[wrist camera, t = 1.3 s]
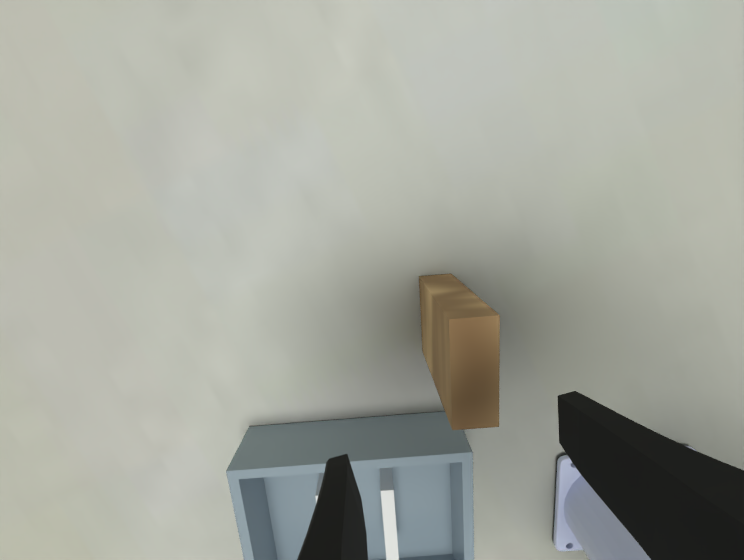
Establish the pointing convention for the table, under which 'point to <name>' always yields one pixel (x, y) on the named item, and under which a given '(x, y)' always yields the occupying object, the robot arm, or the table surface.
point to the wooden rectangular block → (461, 351)
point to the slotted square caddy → (374, 480)
